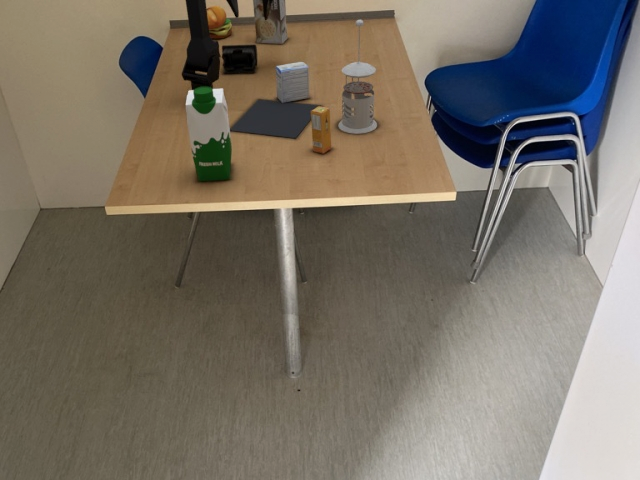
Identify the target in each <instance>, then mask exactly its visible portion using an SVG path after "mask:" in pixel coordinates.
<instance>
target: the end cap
mask: <svg viewBox="0 0 640 480" xmlns="http://www.w3.org/2000/svg"><path fill="white" fill-rule="evenodd" d="M221 52H222V53H221V59H222V61H223V63H222V67H223V70H224V71H223V73H224V75H238V74H240V75H241V74H242V75H243V74H255V73H256V69H257V66H258V48H257V45H256V44H226V45H223V44H222V45H221Z"/></svg>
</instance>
